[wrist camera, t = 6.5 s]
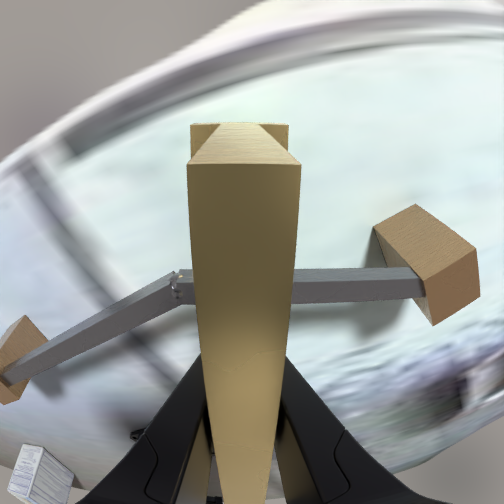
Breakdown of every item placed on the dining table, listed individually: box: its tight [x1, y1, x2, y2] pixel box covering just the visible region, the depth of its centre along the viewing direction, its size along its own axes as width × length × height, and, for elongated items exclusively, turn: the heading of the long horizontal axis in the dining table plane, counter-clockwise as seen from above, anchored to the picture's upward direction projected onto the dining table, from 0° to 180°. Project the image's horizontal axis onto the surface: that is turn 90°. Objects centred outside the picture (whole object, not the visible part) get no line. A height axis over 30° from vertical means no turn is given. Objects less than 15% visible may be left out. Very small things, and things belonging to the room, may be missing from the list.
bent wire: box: [0, 204, 480, 405], centre depth 16 cm, size 9×30×6 cm, turn 119°
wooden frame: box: [187, 122, 301, 504], centre depth 11 cm, size 12×4×10 cm, turn 179°
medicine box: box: [7, 444, 74, 504], centre depth 27 cm, size 8×4×9 cm, turn 11°
